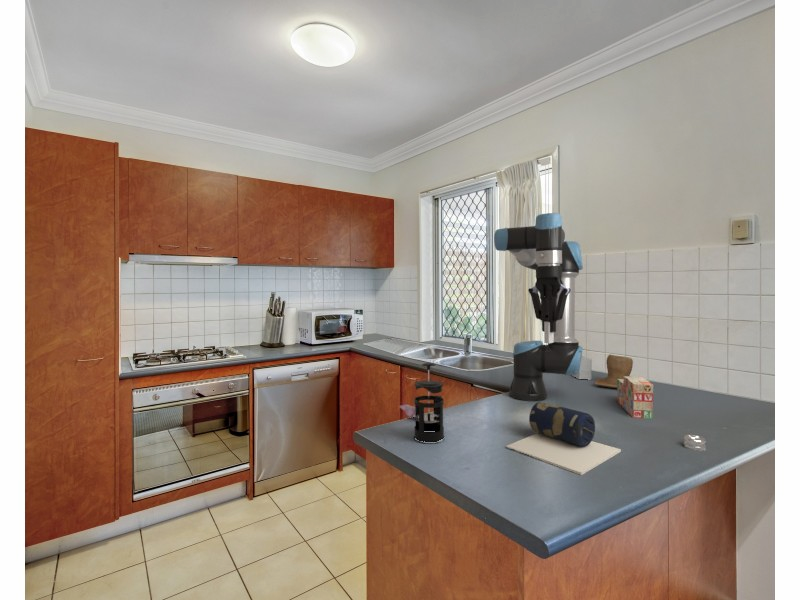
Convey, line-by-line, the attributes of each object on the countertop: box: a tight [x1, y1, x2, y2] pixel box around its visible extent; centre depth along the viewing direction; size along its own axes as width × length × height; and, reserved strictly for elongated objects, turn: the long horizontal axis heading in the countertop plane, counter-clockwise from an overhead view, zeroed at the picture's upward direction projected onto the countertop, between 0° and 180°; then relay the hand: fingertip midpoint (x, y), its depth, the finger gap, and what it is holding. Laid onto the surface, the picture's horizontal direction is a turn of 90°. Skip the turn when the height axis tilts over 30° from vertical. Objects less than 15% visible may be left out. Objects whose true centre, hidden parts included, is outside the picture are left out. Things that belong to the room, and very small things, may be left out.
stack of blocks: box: [616, 376, 654, 420], centre depth 149 cm, size 21×6×12 cm, turn 165°
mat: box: [505, 432, 622, 476], centre depth 113 cm, size 22×22×1 cm
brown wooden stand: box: [594, 354, 634, 389], centre depth 183 cm, size 15×12×15 cm
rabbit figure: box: [398, 403, 415, 419], centre depth 142 cm, size 6×6×15 cm
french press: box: [413, 362, 445, 442], centre depth 123 cm, size 12×9×23 cm
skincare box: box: [571, 356, 593, 381], centre depth 204 cm, size 10×6×10 cm, turn 179°
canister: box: [528, 401, 596, 447], centre depth 119 cm, size 10×10×18 cm
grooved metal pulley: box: [683, 434, 707, 452], centre depth 114 cm, size 5×3×5 cm
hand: (549, 342), depth 123 cm, fingers closed
